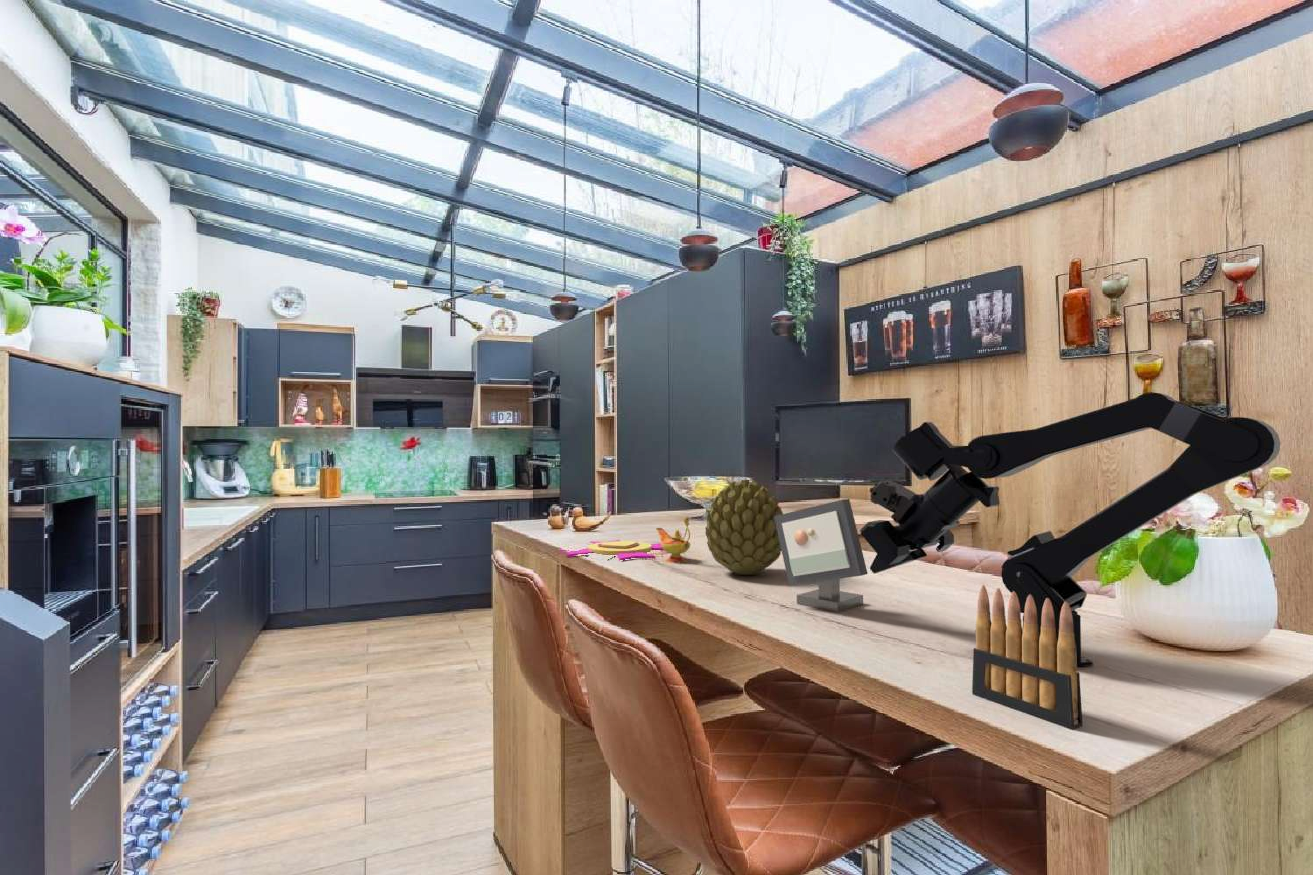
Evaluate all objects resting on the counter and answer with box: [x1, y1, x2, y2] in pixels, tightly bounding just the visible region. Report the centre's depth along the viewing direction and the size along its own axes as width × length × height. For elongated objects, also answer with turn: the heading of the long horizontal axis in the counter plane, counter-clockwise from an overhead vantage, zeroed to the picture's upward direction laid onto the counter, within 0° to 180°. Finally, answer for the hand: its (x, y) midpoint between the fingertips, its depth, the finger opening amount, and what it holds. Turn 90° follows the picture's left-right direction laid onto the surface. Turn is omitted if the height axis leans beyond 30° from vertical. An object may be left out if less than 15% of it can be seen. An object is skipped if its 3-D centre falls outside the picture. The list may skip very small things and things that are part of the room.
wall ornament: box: [558, 539, 669, 561], centre depth 174 cm, size 30×2×30 cm
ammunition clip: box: [971, 584, 1084, 730], centre depth 69 cm, size 11×2×12 cm, turn 30°
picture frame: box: [774, 498, 868, 587], centre depth 110 cm, size 14×2×12 cm, turn 43°
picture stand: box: [796, 579, 864, 613], centre depth 115 cm, size 8×8×14 cm
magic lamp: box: [655, 516, 691, 563], centre depth 160 cm, size 7×18×11 cm, turn 24°
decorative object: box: [705, 479, 784, 576], centre depth 142 cm, size 17×17×20 cm
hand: (872, 570), depth 103 cm, fingers closed
